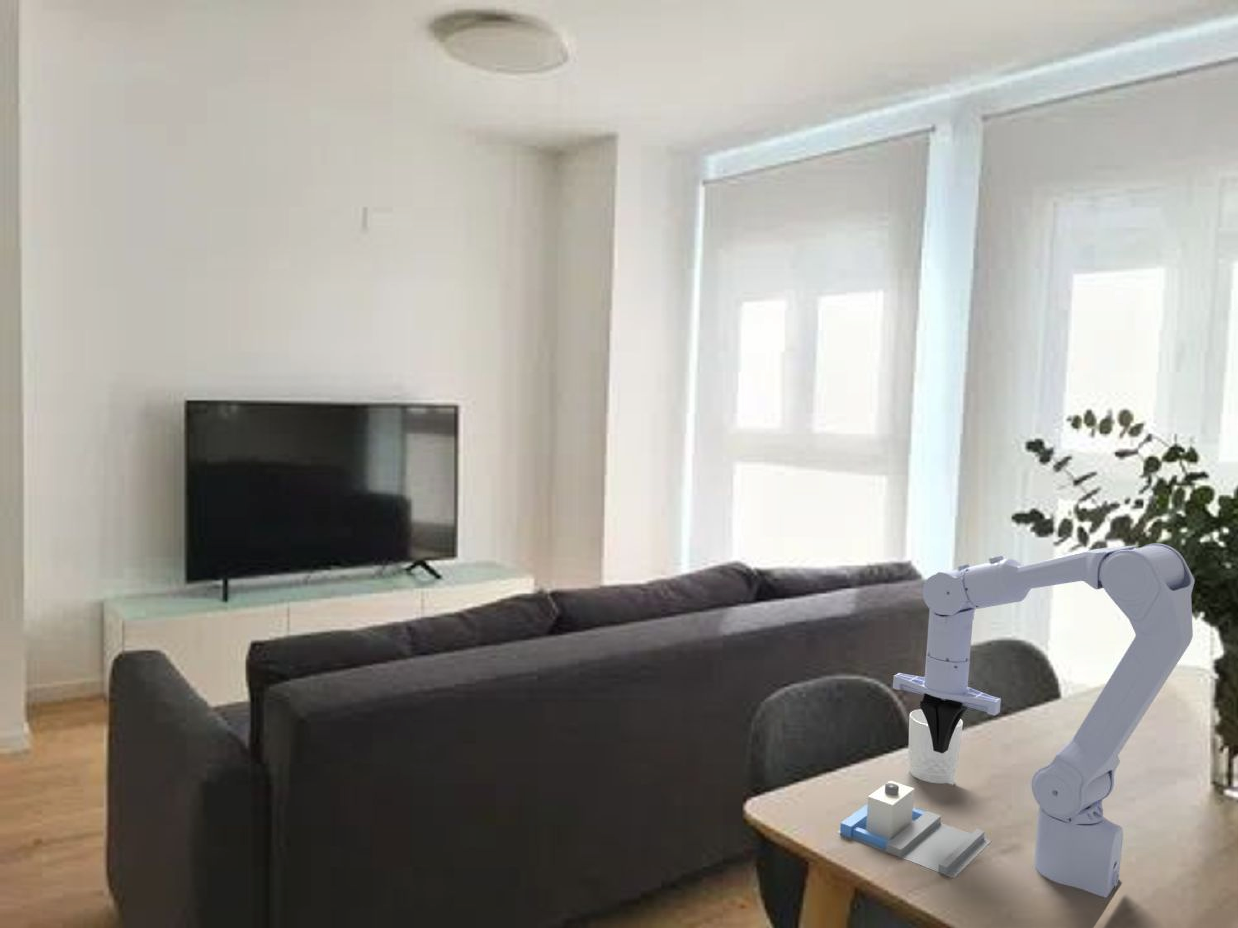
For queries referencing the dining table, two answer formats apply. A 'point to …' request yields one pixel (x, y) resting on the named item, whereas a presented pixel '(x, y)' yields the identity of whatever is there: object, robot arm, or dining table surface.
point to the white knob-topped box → (890, 809)
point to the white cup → (931, 752)
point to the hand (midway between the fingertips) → (940, 750)
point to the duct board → (922, 841)
